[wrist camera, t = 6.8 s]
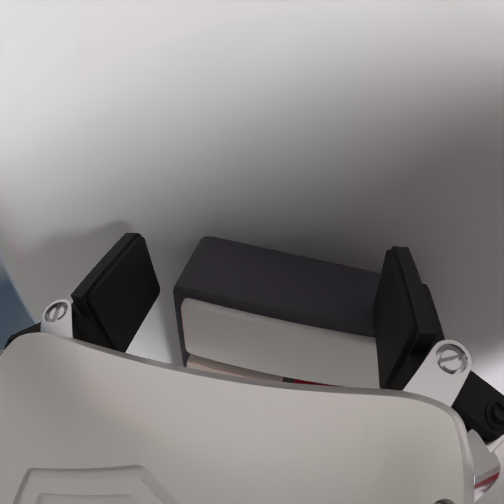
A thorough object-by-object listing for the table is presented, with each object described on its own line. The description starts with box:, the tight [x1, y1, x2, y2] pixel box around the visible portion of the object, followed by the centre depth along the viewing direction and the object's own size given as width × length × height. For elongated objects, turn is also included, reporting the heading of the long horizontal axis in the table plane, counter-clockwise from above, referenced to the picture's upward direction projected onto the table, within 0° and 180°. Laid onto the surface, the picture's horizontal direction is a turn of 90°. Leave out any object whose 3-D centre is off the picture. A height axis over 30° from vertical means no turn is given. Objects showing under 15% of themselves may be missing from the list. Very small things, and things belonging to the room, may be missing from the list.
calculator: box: [173, 236, 381, 389], centre depth 16 cm, size 11×4×15 cm
